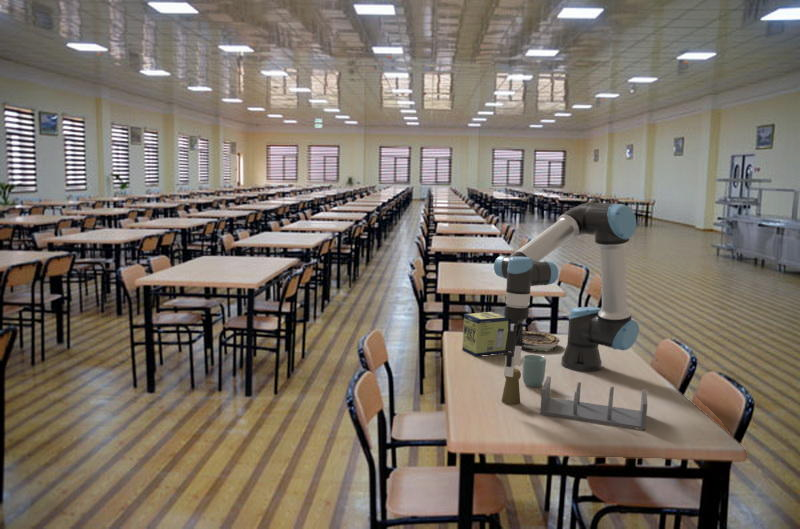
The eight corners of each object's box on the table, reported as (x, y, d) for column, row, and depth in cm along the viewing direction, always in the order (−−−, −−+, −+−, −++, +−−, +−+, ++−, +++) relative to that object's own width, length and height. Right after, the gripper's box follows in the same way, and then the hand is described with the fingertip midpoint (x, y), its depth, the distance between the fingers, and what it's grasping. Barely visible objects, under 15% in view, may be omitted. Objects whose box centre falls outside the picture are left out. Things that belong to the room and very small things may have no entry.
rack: (540, 414, 200) (541, 389, 198) (545, 399, 213) (547, 376, 212) (644, 430, 190) (647, 404, 189) (644, 414, 203) (646, 389, 202)
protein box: (461, 350, 268) (463, 313, 266) (492, 347, 275) (494, 311, 273) (475, 357, 259) (477, 319, 257) (507, 353, 266) (509, 316, 264)
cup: (544, 390, 222) (546, 362, 221) (521, 387, 224) (523, 359, 222) (543, 383, 230) (545, 355, 228) (521, 380, 231) (523, 353, 230)
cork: (499, 398, 212) (501, 366, 211) (517, 398, 213) (519, 366, 211) (503, 405, 206) (506, 371, 205) (522, 405, 207) (524, 372, 205)
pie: (566, 341, 290) (566, 331, 289) (568, 359, 263) (569, 347, 262) (503, 336, 295) (503, 325, 295) (499, 353, 269) (500, 341, 268)
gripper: (511, 298, 218) (507, 359, 221) (497, 311, 194) (492, 379, 197) (534, 300, 215) (529, 362, 218) (522, 314, 192) (517, 383, 195)
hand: (512, 370), depth 208 cm, fingers open, 13 cm apart
